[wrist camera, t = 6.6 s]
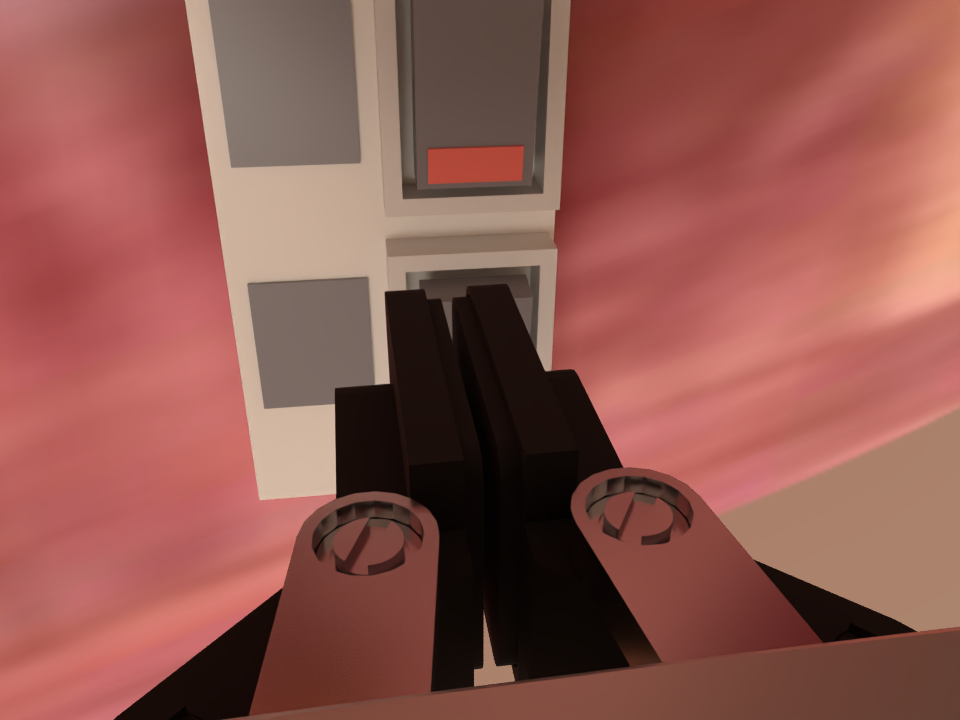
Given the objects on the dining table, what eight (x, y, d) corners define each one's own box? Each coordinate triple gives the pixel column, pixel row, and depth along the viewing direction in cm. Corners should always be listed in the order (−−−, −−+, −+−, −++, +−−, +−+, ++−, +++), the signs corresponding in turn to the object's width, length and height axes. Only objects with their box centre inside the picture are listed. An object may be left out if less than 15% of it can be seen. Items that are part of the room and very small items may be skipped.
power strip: (119, -596, 19) (64, -713, 15) (564, -565, 20) (615, -665, 17) (265, 450, 33) (256, 526, 29) (526, 431, 34) (550, 501, 30)
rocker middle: (409, -15, 22) (413, 0, 21) (534, -16, 22) (544, -2, 21) (413, 171, 25) (417, 191, 24) (524, 167, 25) (532, 186, 24)
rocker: (419, 279, 26) (422, 305, 25) (526, 274, 26) (533, 298, 25) (421, 405, 29) (424, 432, 28) (516, 398, 29) (523, 425, 28)
